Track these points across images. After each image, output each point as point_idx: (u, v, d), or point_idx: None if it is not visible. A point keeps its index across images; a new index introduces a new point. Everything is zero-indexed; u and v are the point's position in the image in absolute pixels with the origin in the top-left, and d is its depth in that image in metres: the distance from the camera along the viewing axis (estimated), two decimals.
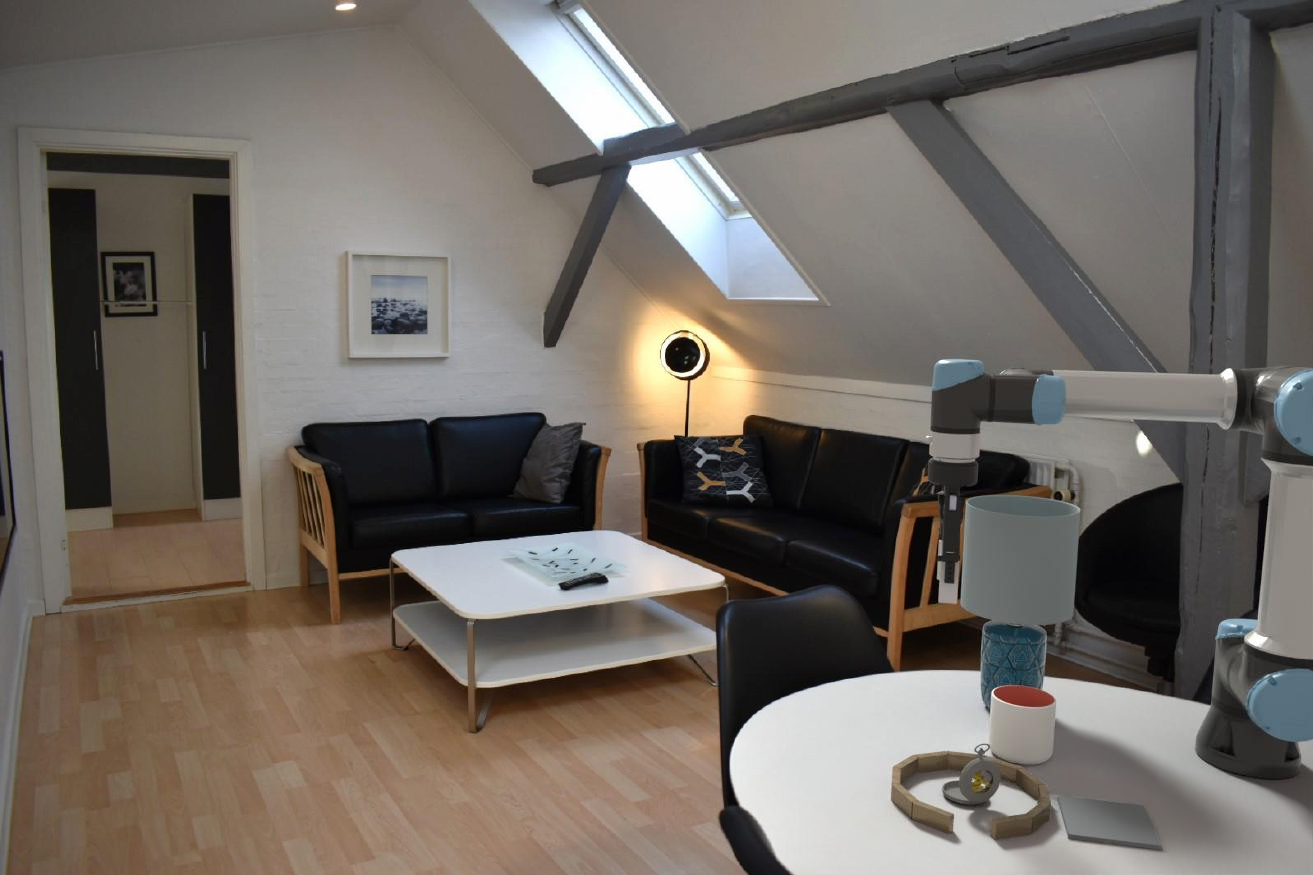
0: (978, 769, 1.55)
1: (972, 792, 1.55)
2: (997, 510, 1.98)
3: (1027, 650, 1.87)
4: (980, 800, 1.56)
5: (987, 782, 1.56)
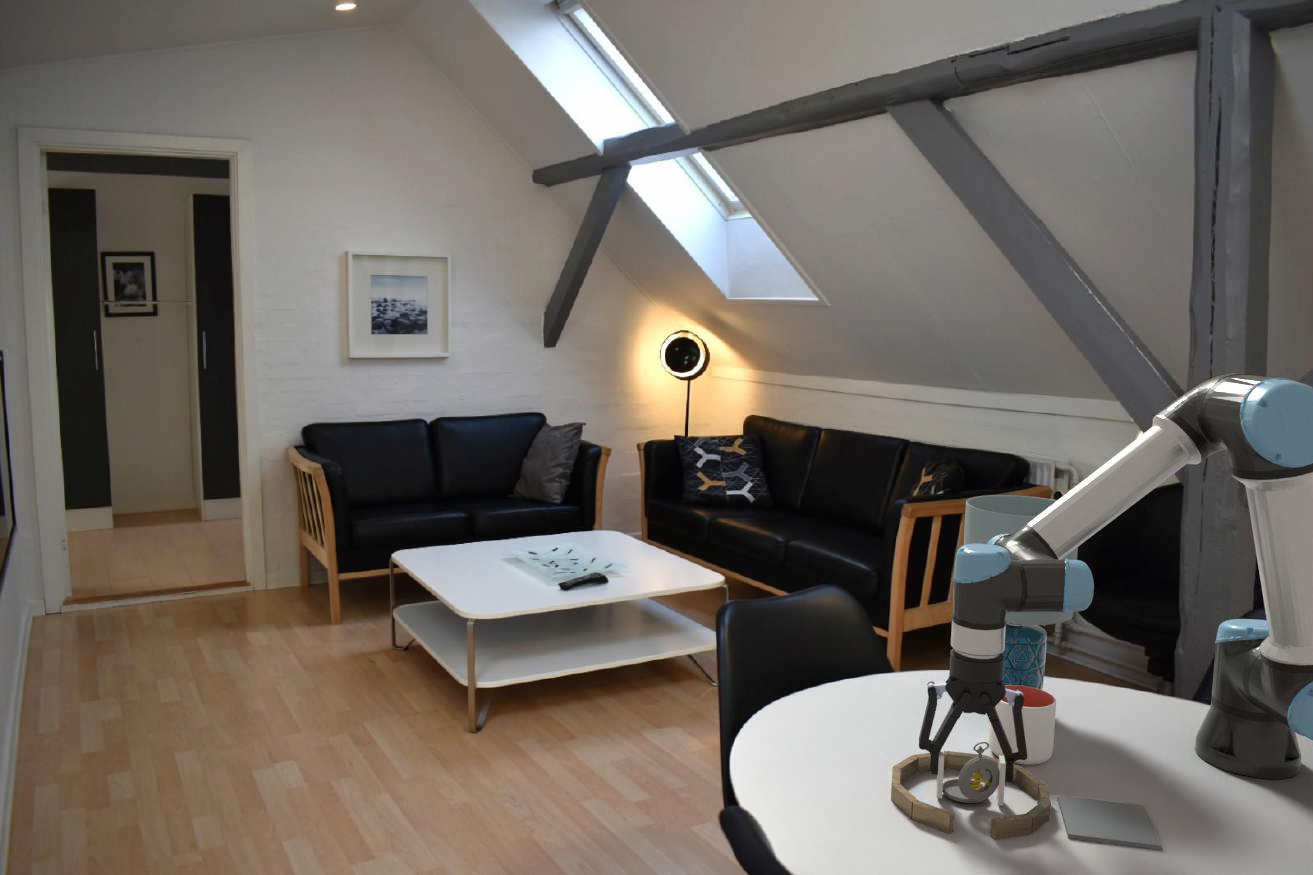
0: (977, 767, 1.55)
1: (971, 790, 1.55)
2: (997, 510, 1.98)
3: (1027, 650, 1.87)
4: (979, 798, 1.56)
5: (986, 780, 1.56)
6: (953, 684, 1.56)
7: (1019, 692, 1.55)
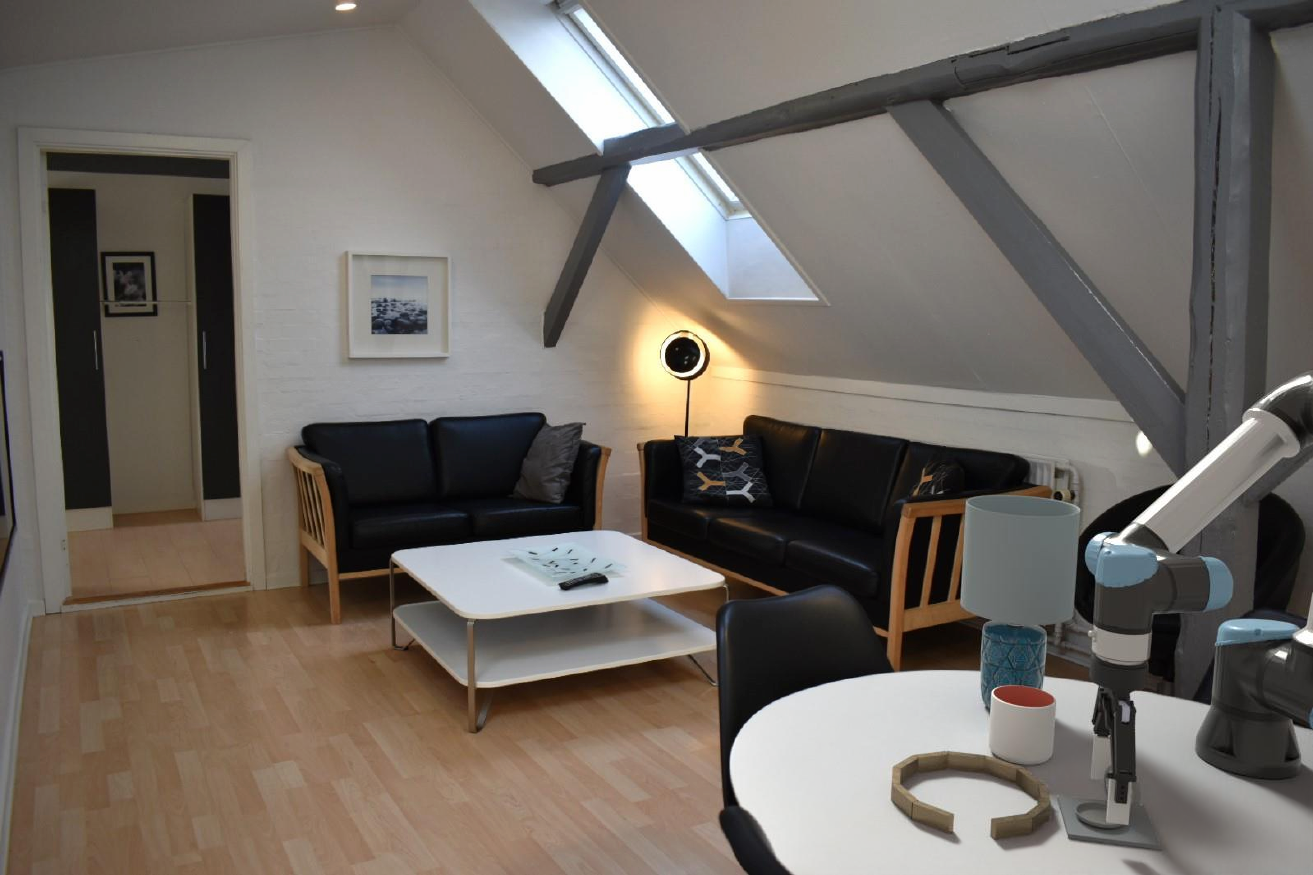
0: None
1: None
2: (997, 510, 1.98)
3: (1027, 650, 1.87)
4: None
5: None
6: None
7: None
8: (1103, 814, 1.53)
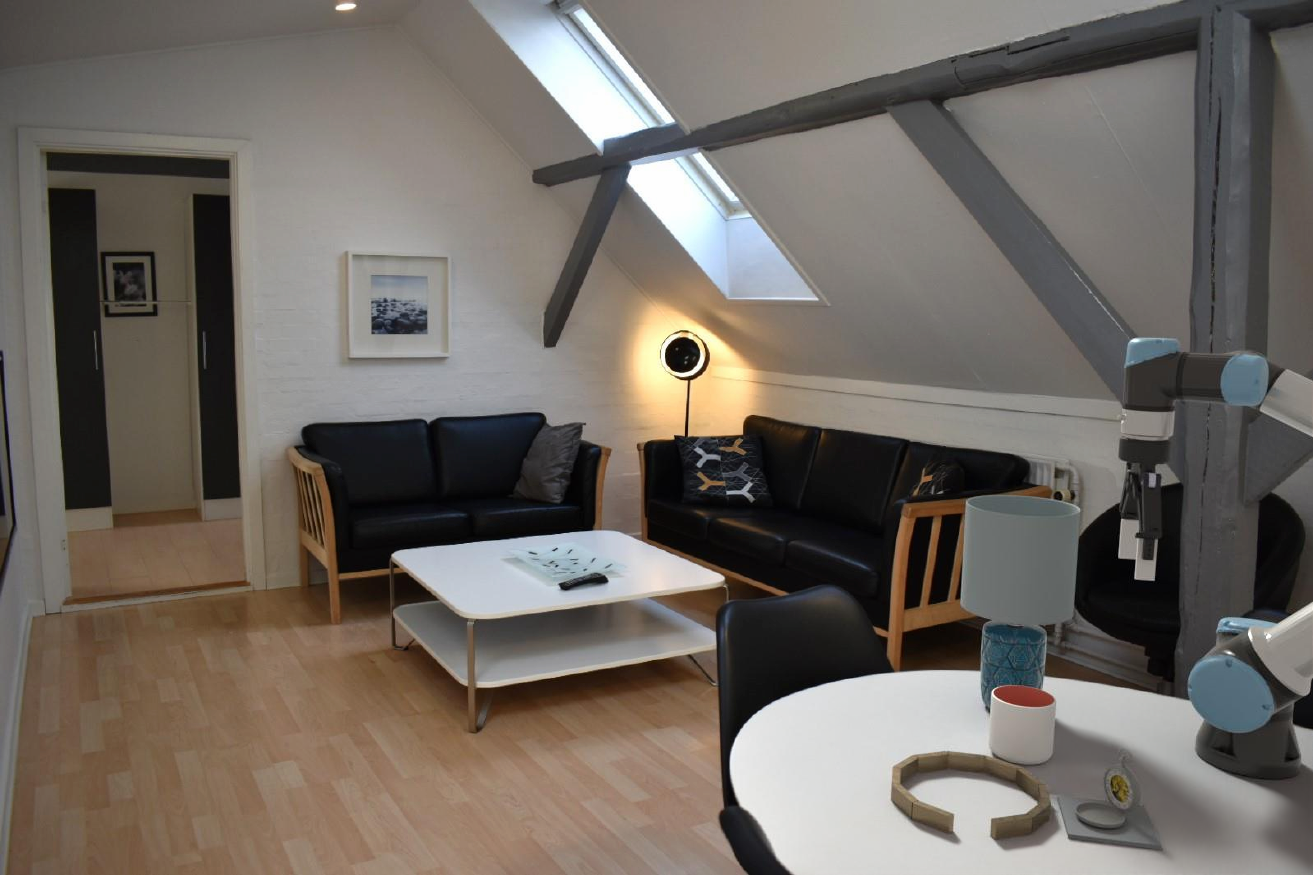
0: None
1: None
2: (997, 510, 1.98)
3: (1027, 650, 1.87)
4: None
5: (1117, 787, 1.54)
6: None
7: None
8: (1103, 814, 1.53)
